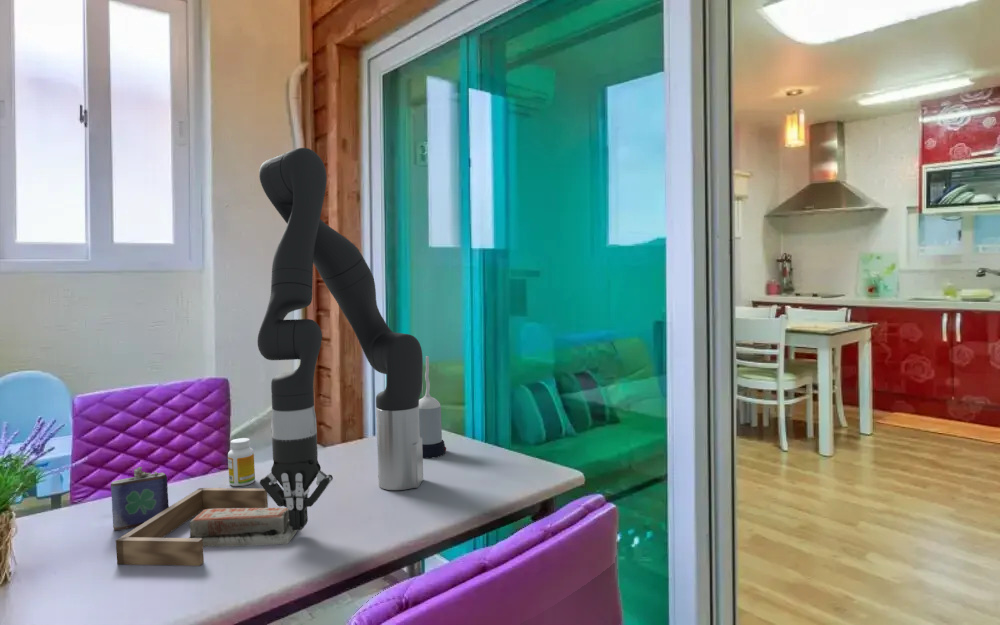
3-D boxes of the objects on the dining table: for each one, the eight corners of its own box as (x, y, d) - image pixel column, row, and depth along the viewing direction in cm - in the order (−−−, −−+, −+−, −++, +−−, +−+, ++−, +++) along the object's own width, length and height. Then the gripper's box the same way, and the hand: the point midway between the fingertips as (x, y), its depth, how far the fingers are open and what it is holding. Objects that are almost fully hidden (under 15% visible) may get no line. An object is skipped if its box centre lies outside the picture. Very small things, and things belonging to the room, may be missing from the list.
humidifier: (451, 452, 161) (449, 355, 159) (427, 460, 155) (425, 359, 153) (430, 447, 166) (427, 353, 165) (406, 454, 160) (403, 357, 158)
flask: (113, 532, 115) (109, 474, 114) (113, 526, 117) (110, 470, 117) (170, 521, 120) (167, 465, 119) (169, 516, 122) (166, 461, 122)
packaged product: (181, 523, 107) (206, 502, 117) (182, 551, 108) (207, 527, 118) (287, 519, 108) (303, 499, 118) (288, 547, 108) (304, 524, 118)
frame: (267, 508, 125) (266, 488, 125) (199, 565, 101) (198, 541, 100) (200, 507, 126) (199, 488, 126) (117, 564, 102) (115, 540, 102)
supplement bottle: (259, 478, 143) (257, 437, 143) (247, 487, 138) (245, 443, 137) (237, 478, 144) (234, 436, 143) (224, 486, 138) (222, 443, 138)
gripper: (338, 427, 114) (341, 520, 115) (267, 427, 115) (271, 520, 116) (323, 438, 106) (327, 537, 107) (248, 438, 107) (252, 537, 108)
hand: (298, 528), depth 112 cm, fingers closed
